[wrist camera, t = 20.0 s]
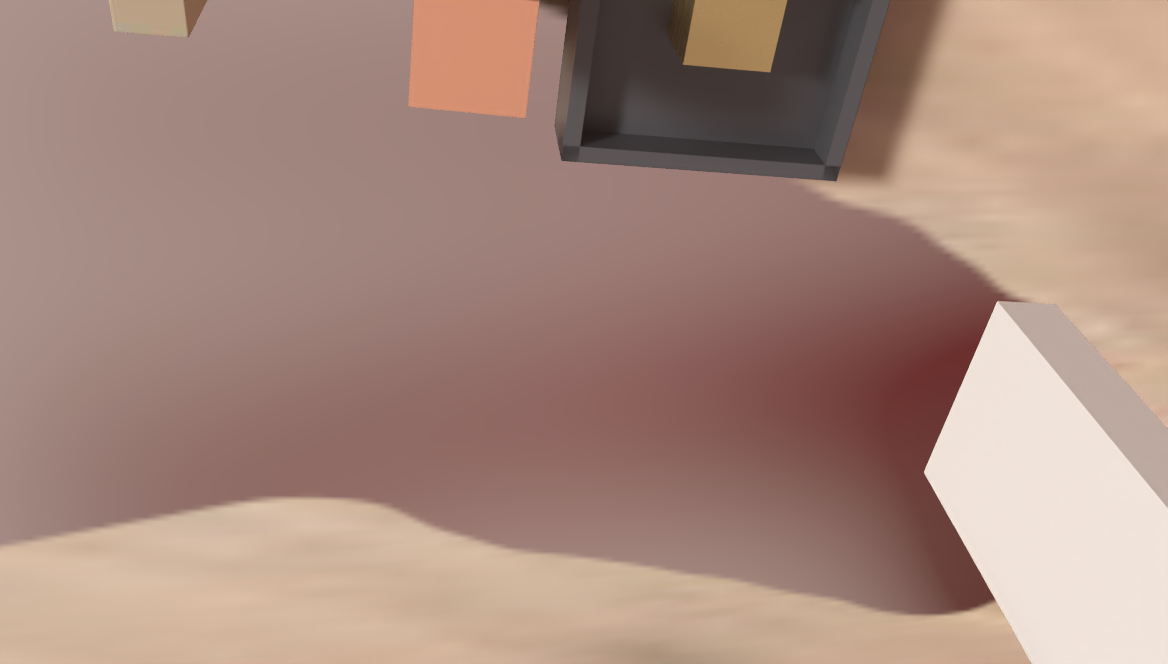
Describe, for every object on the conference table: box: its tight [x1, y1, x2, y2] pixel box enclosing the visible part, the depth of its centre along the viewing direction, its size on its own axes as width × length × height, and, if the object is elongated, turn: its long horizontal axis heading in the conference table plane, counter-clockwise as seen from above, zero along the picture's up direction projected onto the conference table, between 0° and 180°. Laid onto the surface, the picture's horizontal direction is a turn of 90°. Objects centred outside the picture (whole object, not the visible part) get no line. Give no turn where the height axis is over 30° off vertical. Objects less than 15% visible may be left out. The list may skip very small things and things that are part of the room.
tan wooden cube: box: [667, 0, 787, 72], centre depth 44 cm, size 4×4×4 cm
